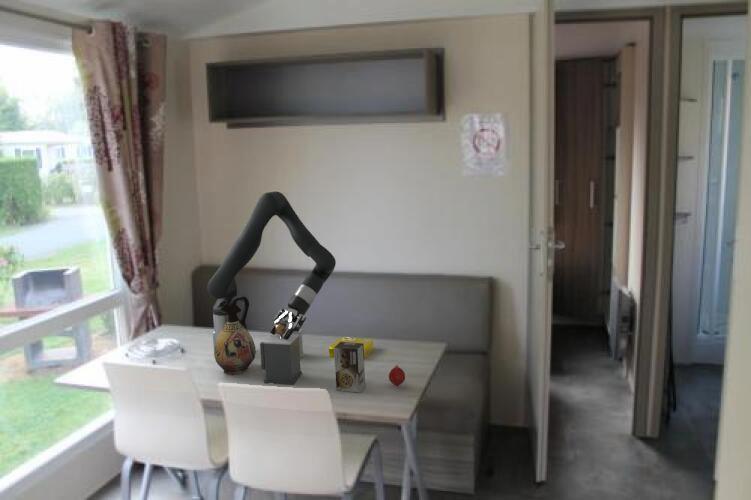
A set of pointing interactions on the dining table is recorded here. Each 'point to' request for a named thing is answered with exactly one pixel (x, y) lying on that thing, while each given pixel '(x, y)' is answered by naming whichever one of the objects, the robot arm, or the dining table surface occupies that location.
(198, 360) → the dining table surface
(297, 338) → the gray rectangular box
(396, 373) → the onion
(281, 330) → the plunger
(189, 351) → the dining table surface
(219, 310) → the ceramic jug
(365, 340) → the element tile
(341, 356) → the coffee box
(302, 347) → the mug
